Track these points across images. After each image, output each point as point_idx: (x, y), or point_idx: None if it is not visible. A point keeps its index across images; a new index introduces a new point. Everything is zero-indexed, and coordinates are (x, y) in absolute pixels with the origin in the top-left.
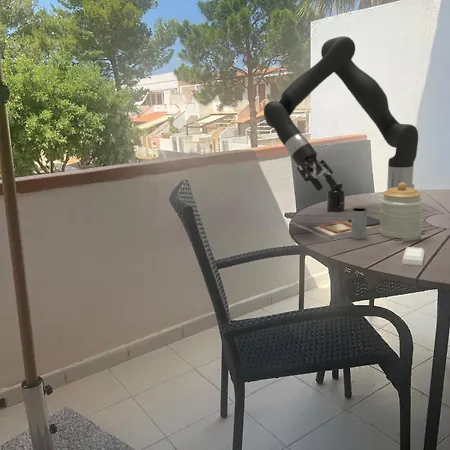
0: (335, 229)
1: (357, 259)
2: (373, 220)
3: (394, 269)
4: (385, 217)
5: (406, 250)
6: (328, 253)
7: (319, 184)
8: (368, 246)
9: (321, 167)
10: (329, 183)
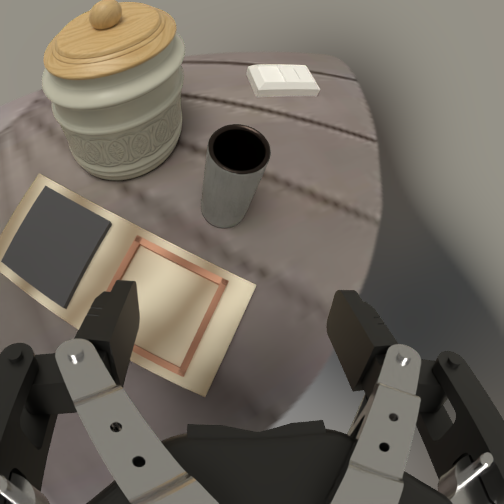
0: (180, 307)
1: (353, 165)
2: (43, 221)
3: (349, 104)
4: (171, 109)
5: (286, 83)
6: (365, 235)
7: (363, 311)
8: None
9: (168, 454)
10: (131, 343)
